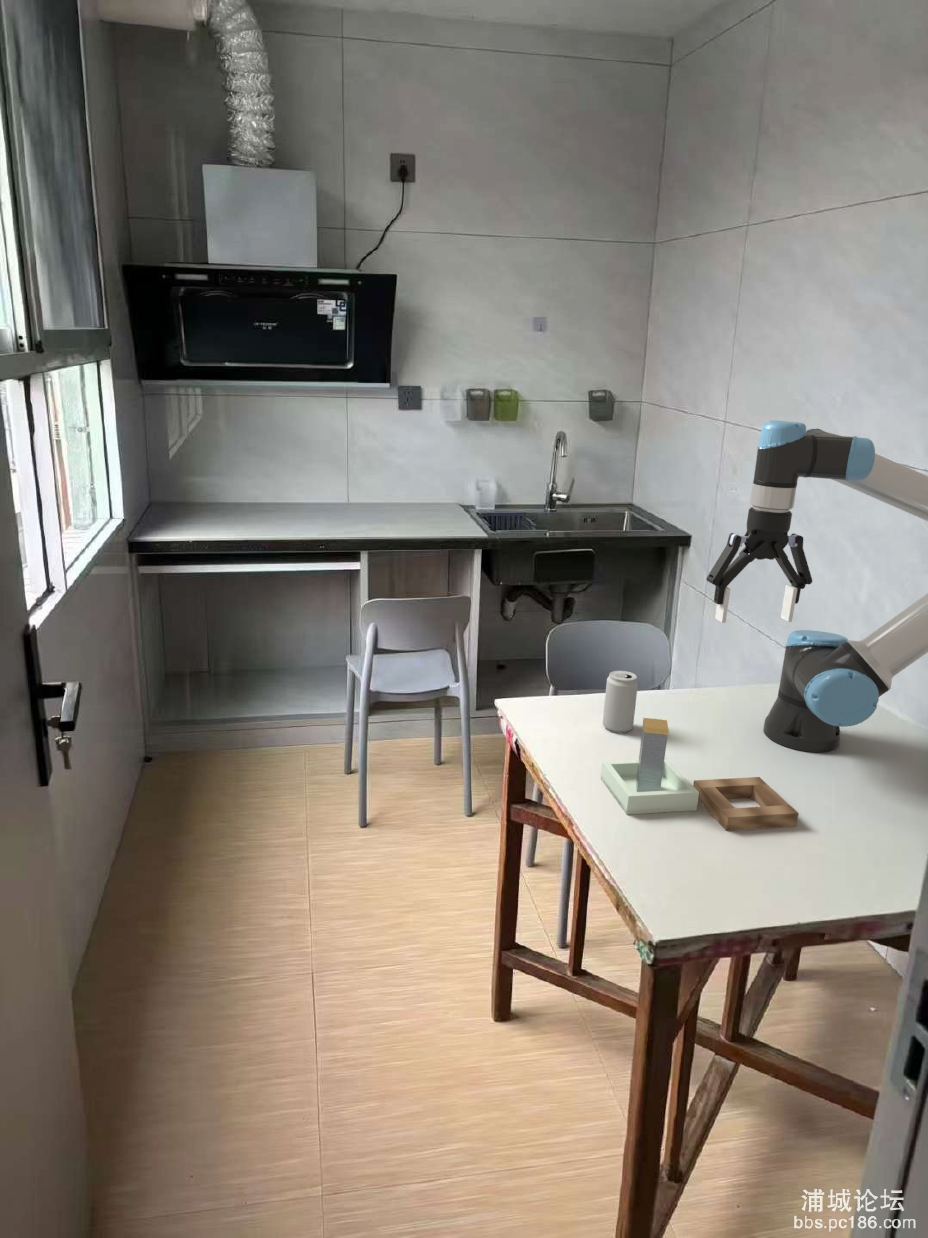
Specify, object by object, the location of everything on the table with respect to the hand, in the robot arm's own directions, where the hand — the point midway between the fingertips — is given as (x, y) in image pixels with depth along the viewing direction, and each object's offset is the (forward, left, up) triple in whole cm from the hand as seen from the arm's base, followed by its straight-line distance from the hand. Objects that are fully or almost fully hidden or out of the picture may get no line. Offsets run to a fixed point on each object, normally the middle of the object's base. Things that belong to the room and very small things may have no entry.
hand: (753, 620), depth 163 cm
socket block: (+8, +19, -29) cm, 35 cm away
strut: (+23, +12, -28) cm, 38 cm away
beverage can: (+18, -16, -29) cm, 38 cm away
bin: (+23, +12, -29) cm, 39 cm away
